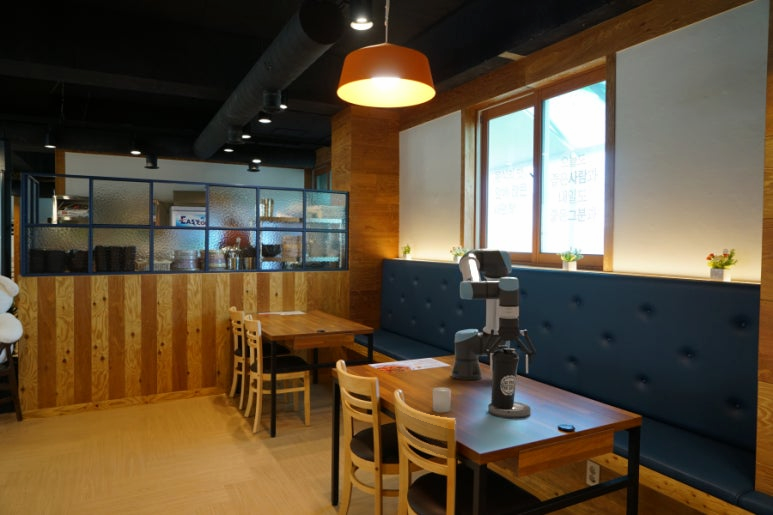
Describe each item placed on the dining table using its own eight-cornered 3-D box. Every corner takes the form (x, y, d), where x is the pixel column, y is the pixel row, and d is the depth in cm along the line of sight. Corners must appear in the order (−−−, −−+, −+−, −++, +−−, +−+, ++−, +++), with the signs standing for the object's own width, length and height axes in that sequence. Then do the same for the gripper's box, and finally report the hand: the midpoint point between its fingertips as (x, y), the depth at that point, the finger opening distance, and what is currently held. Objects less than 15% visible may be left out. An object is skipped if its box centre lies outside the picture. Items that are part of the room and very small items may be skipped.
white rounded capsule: (434, 406, 209) (434, 386, 209) (451, 407, 208) (451, 387, 207) (431, 411, 203) (431, 391, 202) (449, 413, 201) (449, 392, 201)
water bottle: (496, 410, 196) (500, 350, 195) (484, 401, 206) (488, 344, 205) (520, 409, 198) (524, 350, 198) (507, 401, 208) (511, 344, 208)
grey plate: (489, 404, 211) (489, 399, 211) (530, 407, 207) (530, 402, 207) (487, 417, 196) (487, 411, 196) (530, 420, 192) (530, 414, 192)
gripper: (475, 317, 200) (475, 372, 201) (542, 319, 194) (542, 375, 194) (477, 315, 208) (477, 367, 208) (541, 316, 201) (542, 371, 202)
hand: (509, 371), depth 201 cm, fingers open, 13 cm apart
